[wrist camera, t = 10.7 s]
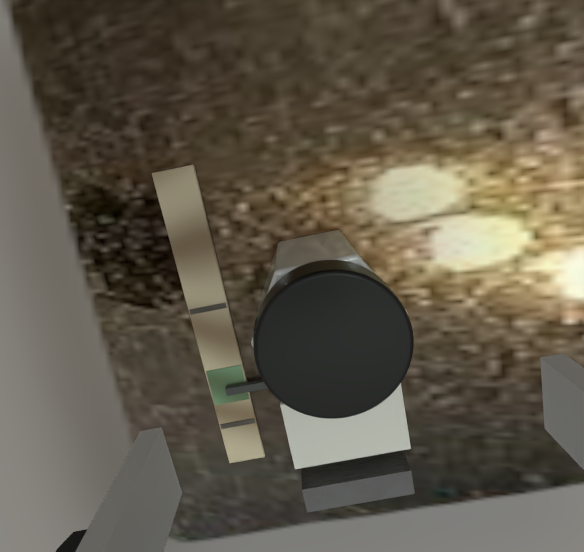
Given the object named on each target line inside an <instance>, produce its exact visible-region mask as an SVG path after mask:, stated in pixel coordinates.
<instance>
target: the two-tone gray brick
mask: <svg viewBox="0 0 584 552" xmlns="http://www.w3.org/2000/svg"><path fill="white" fill-rule="evenodd" d="M301 475H302V491H303V496H304V500H305V505H306V509H307V512H312V511H318V510H324V509H329V508H335V507H341V506H347V505H352V504H358V503H364V502H370V501H375V500H381V499H387V498H393V497H398V496H404V495H410V494H415V493H414V486H413V480H412V473H411V469H410V467H409V464H408V462H407V459H406V457H405V454H404V452H403V450H401V451H395V452H390V453H384V454H378V455H373V456H367V457H362V458H356V459H350V460H345V461H339V462H334V463H328V464H322V465H317V466H311V467H305V468H301Z"/></svg>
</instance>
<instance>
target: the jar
mask: <svg viewBox="0 0 584 552" xmlns="http://www.w3.org/2000/svg"><path fill="white" fill-rule="evenodd" d="M251 345H252V346H253V347H254V357H255V362H256V365H257V369H258V371H259V374H260V376H261V378H262V380H263V381H264V383H265V385H266V386H267V388H268V389H269V390H270V391H271V392H272V394H273V395H274V396H275V397H276V398H277V399H279V400H280V401H281V402H282V403H284V404H285V405H287V406H288V407H290V408H291V409H293V410H295V411H297V412H300V413H302V414H305V415H309V416H312V417H317V418H326V419H337V418H346V417H351V416H355V415H358V414H361V413H364V412H366V411H368V410H370V409H372V408H374V407H376V406H377V405H379V404H380V403H382V402H383V401H384V400H386V399H387V398H388V397H389V396H390V395H391V394H392V393H393V392H394V391H395V390H396V389H397V387H398V386H399V385H400V383H401V382H402V380H403V379H404V377H405V375H406V373H407V371H408V368H409V366H410V362H411V359H412V354H413V331H412V326H411V322H410V319H409V316H408V312H407V310H406V309H405V308H404V306H403V305H402V303H401V302H400V300H399V299H398V298H397V296H396V295H395V294H394V293H393V291H392V290H391V289H390V288H389V287H388V285H387V284H386V283H385V282H384V281H383V280H382V279H381V278H380V277H379V276H378V274H377V273H376V272H375V271H374V270H373V268H372V267H371V266H370V265H369V264H368V263H367V261H366V260H365V259H364V258H363V257H362V256H361V255H360V253H359V252H358V251H357V250H356V249H355V248H354V246H353V245H352V244H351V243H350V242H349V241H348V240H347V238H346V237H345V236H344V235H343V234H342V233H341V231H339V230H335V231H330V232H325V233H320V234H315V235H310V236H305V237H301V238H296V239H291V240H286V241H281V242H279V243H278V245H277V248H276V251H275V254H274V257H273V260H272V263H271V266H270V269H269V272H268V275H267V278H266V281H265V284H264V287H263V290H262V293H261V296H260V301H259V306H258V311H257V316H256V320H255V325H254V330H253V335H252V340H251Z"/></svg>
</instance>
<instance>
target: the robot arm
mask: <svg viewBox="0 0 584 552" xmlns="http://www.w3.org/2000/svg"><path fill="white" fill-rule="evenodd" d="M540 360H541V376H542V392H543V408H544V425H545V429H546V430H547V431H548V433H549V434H550V435H551V436H552V437H553V438H554V439H555V440H556V441H557V442H558V443H559V444H560V445H561V446H562V447H563V448H564V449H565V450H566V451H567V453H568V454H569V455H570V456H571V457H572V458H573V459H574V460H575V461H576V462H577V463H578V464H579V465H580V466H581V467H582V468H583V469H584V368H583V367H582V366H580V365H579V364H577V363H576V362H574V361H573V360H572V359H570V358H569V357H567V356H566V355H565V354H558V355H553V356H547V357H542V358H540ZM181 494H182V492H181V488H180V485H179V482H178V479H177V476H176V472H175V469H174V466H173V463H172V460H171V456H170V453H169V450H168V447H167V444H166V440H165V437H164V434H163V431H162V428H156V429H150V430H145V431H140V433H139V434H138V436H137V438H136V440H135V442H134V444H133V446H132V447H131V449H130V451H129V453H128V455H127V457H126V459H125V460H124V462H123V464H122V466H121V468H120V470H119V472H118V473H117V475H116V477H115V479H114V481H113V483H112V485H111V486H110V488H109V490H108V492H107V494H106V496H105V498H104V499H103V501H102V503H101V505H100V507H99V509H98V511H97V512H96V514H95V516H94V518H93V520H92V522H91V524H90V526H89V528H88V529H87V530H81V531H76V532H73V533H72V534H71V535H70V536H69V537H68V538H67V540H66V541H64V542H63V544H62V545H61V546H60V547H59V548H58V549H57V551H56V552H163V551H164V548H165V545H166V542H167V539H168V536H169V532H170V529H171V526H172V523H173V520H174V516H175V513H176V510H177V507H178V504H179V501H180V497H181Z"/></svg>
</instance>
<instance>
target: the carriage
mask: <svg viewBox="0 0 584 552" xmlns="http://www.w3.org/2000/svg"><path fill="white" fill-rule="evenodd" d="M263 389H268V388H267V386H266V385H265V383H264V381H263V380H256V381H251V382H246V383H240V384H235V385H230V386H226V388H225V391H226V395H227V396H230V395H236V394H241V393H246V392H252V391H257V390H263ZM276 399H277V398H276V397H275V400H276ZM280 406H281V410H282V415H283V419H284V423H285V428H286V432H287V437H288V441H289V445H290V450H291V454H292V458H293V463H294V467H295V469H300V468H305V467H311V466H317V465H322V464H328V463H334V462H339V461H345V460H350V459H356V458H362V457H367V456H373V455H378V454H384V453H390V452H395V451H401V450H406V449H411V447H410V440H409V434H408V427H407V421H406V414H405V408H404V401H403V395H402V388H401V383H400V385H399V386H398V387H397V389H396V390H395V391H394V392H393V393H392V394H391V395H390V396H389V397H388V398H387V399H386V400H384V401H383V402H382V403H380V404H379V405H377V406H376V407H374V408H372V409H370V410H368V411H366V412H364V413H361V414H358V415H355V416H351V417H346V418H337V419H326V418H317V417H312V416H309V415H305V414H302V413H300V412H297V411H295V410H293V409H291V408H290V407H288V406H287V405H285V404H284V403H282V402H281V401H280Z"/></svg>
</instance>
